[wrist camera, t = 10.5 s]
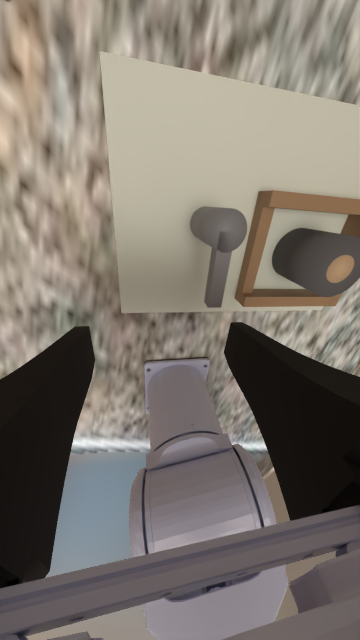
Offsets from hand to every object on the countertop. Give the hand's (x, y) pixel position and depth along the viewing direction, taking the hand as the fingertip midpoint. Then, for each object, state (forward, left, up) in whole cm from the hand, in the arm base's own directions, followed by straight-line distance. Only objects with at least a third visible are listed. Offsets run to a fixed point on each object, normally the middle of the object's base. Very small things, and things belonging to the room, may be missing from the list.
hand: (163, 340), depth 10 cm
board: (+5, -8, -10) cm, 14 cm away
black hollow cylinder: (+3, -13, -9) cm, 16 cm away
